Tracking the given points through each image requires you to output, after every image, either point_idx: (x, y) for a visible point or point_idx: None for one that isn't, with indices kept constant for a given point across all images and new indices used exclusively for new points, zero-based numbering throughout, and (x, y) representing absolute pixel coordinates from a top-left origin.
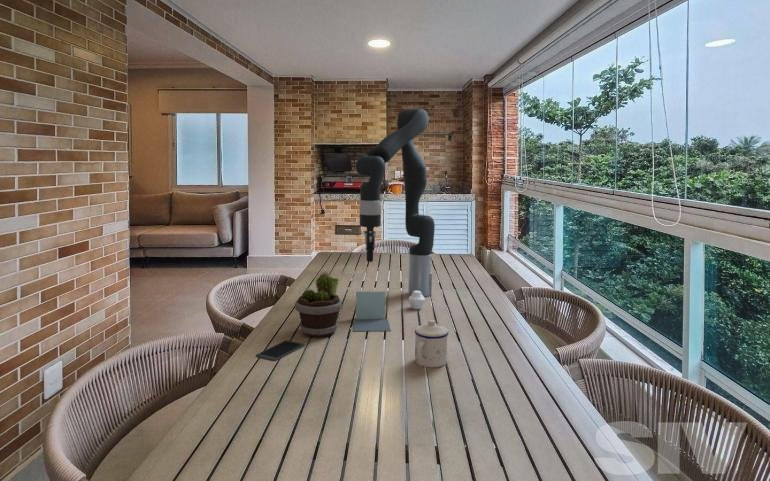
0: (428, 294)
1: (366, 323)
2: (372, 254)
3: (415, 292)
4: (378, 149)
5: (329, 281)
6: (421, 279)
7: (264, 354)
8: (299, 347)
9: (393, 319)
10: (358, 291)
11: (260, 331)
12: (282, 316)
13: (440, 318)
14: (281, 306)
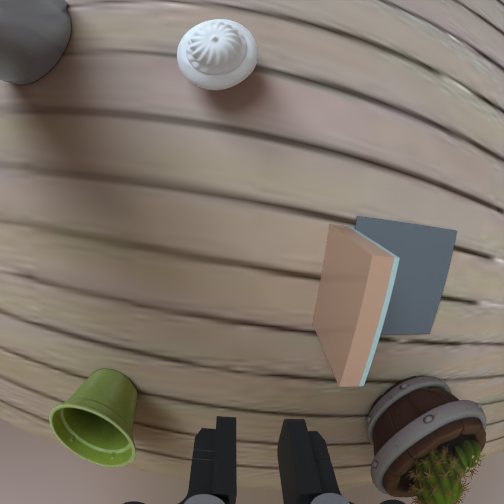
0: (64, 9)
1: None
2: (314, 470)
3: (228, 49)
4: None
5: (460, 481)
6: (32, 12)
7: None
8: None
9: (357, 193)
10: (363, 377)
11: (350, 484)
12: (258, 474)
13: (364, 25)
14: (171, 474)
